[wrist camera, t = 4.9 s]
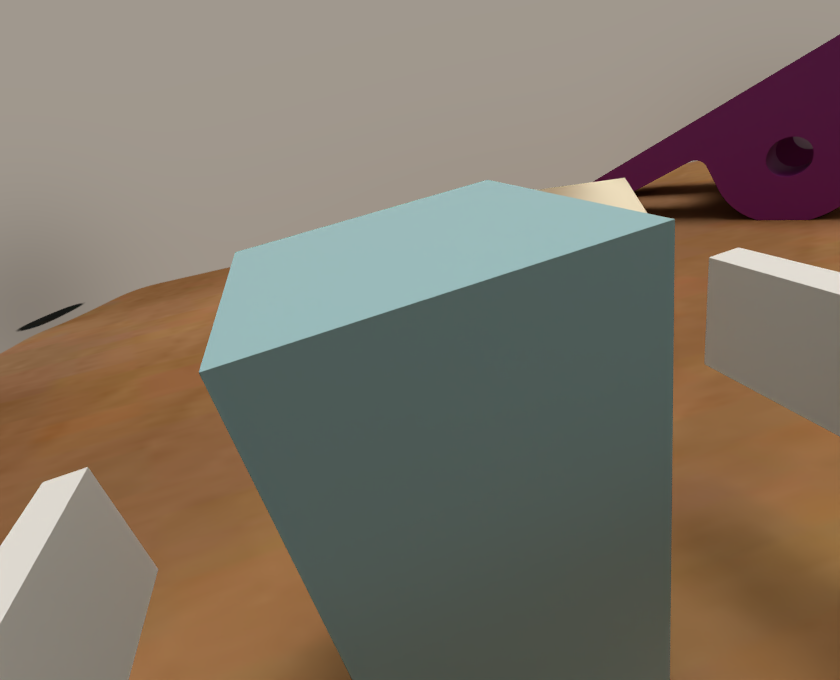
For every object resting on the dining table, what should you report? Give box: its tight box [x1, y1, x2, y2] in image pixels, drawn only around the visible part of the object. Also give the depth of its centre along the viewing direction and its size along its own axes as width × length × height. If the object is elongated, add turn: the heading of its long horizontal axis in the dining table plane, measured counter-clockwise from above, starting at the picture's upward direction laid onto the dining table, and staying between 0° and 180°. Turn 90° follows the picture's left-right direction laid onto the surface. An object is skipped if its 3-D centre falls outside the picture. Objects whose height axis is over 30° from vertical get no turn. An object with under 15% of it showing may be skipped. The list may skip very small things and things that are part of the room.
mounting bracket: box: [593, 35, 840, 220], centre depth 36 cm, size 10×9×19 cm
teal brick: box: [199, 180, 675, 680], centre depth 9 cm, size 5×5×10 cm
